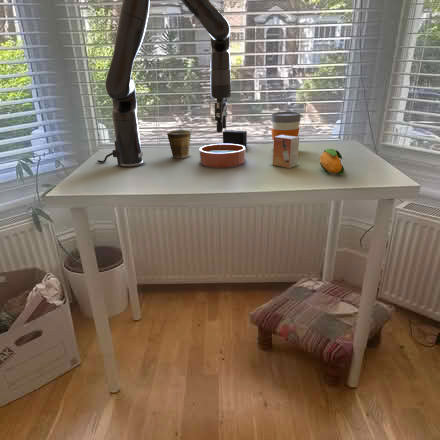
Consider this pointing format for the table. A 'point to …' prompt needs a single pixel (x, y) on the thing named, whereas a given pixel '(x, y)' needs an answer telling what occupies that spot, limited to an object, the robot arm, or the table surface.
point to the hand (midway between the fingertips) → (221, 130)
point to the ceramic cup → (179, 143)
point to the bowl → (222, 155)
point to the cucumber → (221, 151)
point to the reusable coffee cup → (285, 124)
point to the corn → (331, 161)
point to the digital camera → (235, 137)
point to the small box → (285, 151)
